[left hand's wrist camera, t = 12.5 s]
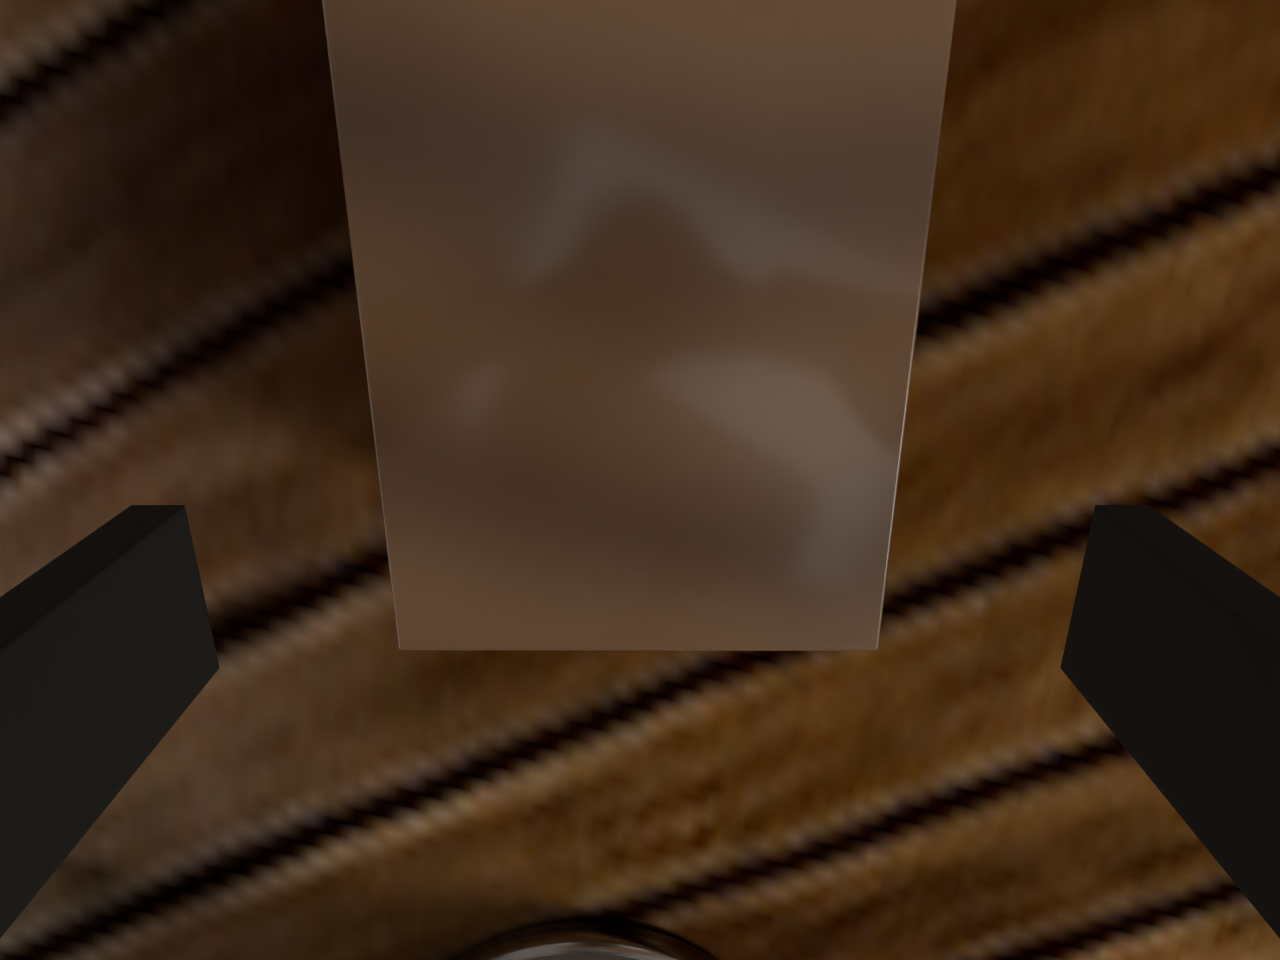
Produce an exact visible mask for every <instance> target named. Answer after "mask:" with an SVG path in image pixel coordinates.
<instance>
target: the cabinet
mask: <svg viewBox="0 0 1280 960" xmlns="http://www.w3.org/2000/svg"><path fill="white" fill-rule="evenodd" d="M956 1H957V0H322V8H323V16H324V25H325V33H326V41H327V50H328V58H329V67H330V75H331V83H332V92H333V100H334V108H335V117H336V125H337V134H338V142H339V150H340V159H341V167H342V176H343V184H344V192H345V201H346V209H347V217H348V226H349V234H350V243H351V251H352V259H353V268H354V276H355V285H356V293H357V301H358V310H359V318H360V326H361V335H362V343H363V352H364V360H365V368H366V377H367V385H368V394H369V402H370V410H371V419H372V427H373V435H374V444H375V452H376V461H377V469H378V477H379V486H380V494H381V503H382V511H383V519H384V528H385V536H386V544H387V553H388V561H389V570H390V578H391V586H392V595H393V603H394V612H395V620H396V628H397V637H398V645H399V649H400V650H574V651H876V650H877V649H878V645H879V636H880V628H881V620H882V612H883V603H884V595H885V587H886V579H887V570H888V562H889V554H890V546H891V537H892V529H893V521H894V513H895V504H896V496H897V488H898V480H899V471H900V463H901V455H902V447H903V438H904V430H905V422H906V414H907V405H908V397H909V389H910V381H911V372H912V364H913V356H914V348H915V339H916V331H917V323H918V315H919V306H920V298H921V290H922V282H923V273H924V265H925V257H926V248H927V240H928V232H929V224H930V215H931V207H932V199H933V191H934V182H935V174H936V166H937V158H938V149H939V141H940V133H941V125H942V116H943V108H944V100H945V92H946V83H947V75H948V67H949V59H950V50H951V42H952V34H953V26H954V17H955V9H956Z"/></svg>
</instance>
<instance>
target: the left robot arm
mask: <svg viewBox="0 0 1280 960" xmlns="http://www.w3.org/2000/svg"><path fill="white" fill-rule="evenodd" d="M218 669H219V664H218V659H217V654H216V650H215V645H214V640H213V635H212V631H211V626H210V621H209V617H208V612H207V607H206V603H205V598H204V593H203V589H202V584H201V579H200V575H199V570H198V565H197V561H196V556H195V551H194V547H193V542H192V537H191V533H190V528H189V523H188V519H187V514H186V509H185V505H131V506H130V507H128V508H127V509H126V510H124V511H123V512H121V513H120V514H118V515H117V516H116V517H114V518H113V519H111V520H110V521H108V522H107V523H106V524H104V525H103V526H101V527H100V528H98V529H97V530H96V531H94V532H93V533H91V534H90V535H88V536H87V537H86V538H84V539H83V540H81V541H80V542H78V543H77V544H76V545H74V546H73V547H71V548H70V549H68V550H67V551H66V552H64V553H63V554H61V555H60V556H58V557H57V558H56V559H54V560H53V561H51V562H50V563H48V564H47V565H46V566H44V567H43V568H41V569H40V570H38V571H37V572H36V573H34V574H33V575H31V576H30V577H28V578H27V579H26V580H24V581H23V582H21V583H20V584H19V585H17V586H16V587H14V588H13V589H11V590H10V591H9V592H7V593H6V594H4V595H3V596H1V597H0V938H1V937H2V935H3V934H4V933H5V932H6V931H7V929H8V928H9V927H10V926H11V924H12V923H13V922H14V921H15V919H16V918H17V917H18V916H19V915H20V913H21V912H22V911H23V910H24V908H25V907H26V906H27V905H28V903H29V902H30V901H31V900H32V898H33V897H34V896H35V895H36V894H37V892H38V891H39V890H40V889H41V887H42V886H43V885H44V884H45V882H46V881H47V880H48V879H49V878H50V876H51V875H52V874H53V873H54V871H55V870H56V869H57V868H58V866H59V865H60V864H61V863H62V861H63V860H64V859H65V858H66V857H67V855H68V854H69V853H70V852H71V850H72V849H73V848H74V847H75V845H76V844H77V843H78V842H79V841H80V839H81V838H82V837H83V836H84V834H85V833H86V832H87V831H88V829H89V828H90V827H91V826H92V824H93V823H94V822H95V821H96V820H97V818H98V817H99V816H100V815H101V813H102V812H103V811H104V810H105V808H106V807H107V806H108V805H109V804H110V802H111V801H112V800H113V799H114V797H115V796H116V795H117V794H118V792H119V791H120V790H121V789H122V787H123V786H124V785H125V784H126V783H127V781H128V780H129V779H130V778H131V776H132V775H133V774H134V773H135V771H136V770H137V769H138V768H139V767H140V765H141V764H142V763H143V762H144V760H145V759H146V758H147V757H148V755H149V754H150V753H151V752H152V750H153V749H154V748H155V747H156V746H157V744H158V743H159V742H160V741H161V739H162V738H163V737H164V736H165V734H166V733H167V732H168V731H169V730H170V728H171V727H172V726H173V725H174V723H175V722H176V721H177V720H178V718H179V717H180V716H181V715H182V713H183V712H184V711H185V710H186V709H187V707H188V706H189V705H190V704H191V702H192V701H193V700H194V699H195V697H196V696H197V695H198V694H199V693H200V691H201V690H202V689H203V688H204V686H205V685H206V684H207V683H208V681H209V680H210V679H211V678H212V676H213V675H214V674H215V673H216V672H217V670H218ZM1061 669H1062V670H1063V672H1064V673H1065V674H1066V675H1067V676H1068V678H1069V679H1070V680H1071V681H1072V683H1073V684H1074V685H1075V686H1076V688H1077V689H1078V690H1079V691H1080V693H1081V694H1082V695H1083V696H1084V697H1085V699H1086V700H1087V701H1088V702H1089V704H1090V705H1091V706H1092V707H1093V709H1094V710H1095V711H1096V712H1097V713H1098V715H1099V716H1100V717H1101V718H1102V720H1103V721H1104V722H1105V723H1106V725H1107V726H1108V727H1109V728H1110V730H1111V731H1112V732H1113V733H1114V734H1115V736H1116V737H1117V738H1118V739H1119V741H1120V742H1121V743H1122V744H1123V746H1124V747H1125V748H1126V749H1127V750H1128V752H1129V753H1130V754H1131V755H1132V757H1133V758H1134V759H1135V760H1136V762H1137V763H1138V764H1139V765H1140V767H1141V768H1142V769H1143V770H1144V771H1145V773H1146V774H1147V775H1148V776H1149V778H1150V779H1151V780H1152V781H1153V783H1154V784H1155V785H1156V786H1157V787H1158V789H1159V790H1160V791H1161V792H1162V794H1163V795H1164V796H1165V797H1166V799H1167V800H1168V801H1169V802H1170V804H1171V805H1172V806H1173V807H1174V808H1175V810H1176V811H1177V812H1178V813H1179V815H1180V816H1181V817H1182V818H1183V820H1184V821H1185V822H1186V823H1187V824H1188V826H1189V827H1190V828H1191V829H1192V831H1193V832H1194V833H1195V834H1196V836H1197V837H1198V838H1199V839H1200V841H1201V842H1202V843H1203V844H1204V845H1205V847H1206V848H1207V849H1208V850H1209V852H1210V853H1211V854H1212V855H1213V857H1214V858H1215V859H1216V860H1217V861H1218V863H1219V864H1220V865H1221V866H1222V868H1223V869H1224V870H1225V871H1226V873H1227V874H1228V875H1229V876H1230V878H1231V879H1232V880H1233V881H1234V882H1235V884H1236V885H1237V886H1238V887H1239V889H1240V890H1241V891H1242V892H1243V894H1244V895H1245V896H1246V897H1247V898H1248V900H1249V901H1250V902H1251V903H1252V905H1253V906H1254V907H1255V908H1256V910H1257V911H1258V912H1259V913H1260V915H1261V916H1262V917H1263V918H1264V919H1265V921H1266V922H1267V923H1268V924H1269V926H1270V927H1271V928H1272V929H1273V931H1274V932H1275V933H1276V934H1277V935H1278V937H1279V938H1280V597H1279V596H1277V595H1276V594H1274V593H1273V592H1271V591H1270V590H1269V589H1267V588H1266V587H1264V586H1263V585H1261V584H1260V583H1259V582H1257V581H1256V580H1254V579H1253V578H1252V577H1250V576H1249V575H1247V574H1246V573H1244V572H1243V571H1242V570H1240V569H1239V568H1237V567H1236V566H1234V565H1233V564H1232V563H1230V562H1229V561H1227V560H1226V559H1224V558H1223V557H1222V556H1220V555H1219V554H1217V553H1216V552H1214V551H1213V550H1212V549H1210V548H1209V547H1207V546H1206V545H1204V544H1203V543H1202V542H1200V541H1199V540H1197V539H1196V538H1194V537H1193V536H1192V535H1190V534H1189V533H1187V532H1186V531H1184V530H1183V529H1182V528H1180V527H1179V526H1177V525H1176V524H1174V523H1173V522H1172V521H1170V520H1169V519H1167V518H1166V517H1164V516H1163V515H1162V514H1160V513H1159V512H1157V511H1156V510H1154V509H1153V508H1152V507H1150V506H1149V505H1095V509H1094V514H1093V519H1092V523H1091V528H1090V533H1089V537H1088V542H1087V547H1086V551H1085V556H1084V561H1083V565H1082V570H1081V575H1080V579H1079V584H1078V589H1077V593H1076V598H1075V603H1074V607H1073V612H1072V617H1071V621H1070V626H1069V631H1068V635H1067V640H1066V645H1065V650H1064V654H1063V659H1062V664H1061ZM456 960H715V959H713V958H712V957H711V956H709V955H708V954H706V953H704V952H702V951H700V950H699V949H697V948H695V947H693V946H691V945H689V944H687V943H684V942H682V941H680V940H678V939H675V938H672V937H669V936H667V935H664V934H661V933H658V932H654V931H650V930H646V929H643V928H638V927H632V926H627V925H620V924H612V923H600V922H568V923H557V924H548V925H542V926H537V927H531V928H527V929H523V930H519V931H515V932H512V933H509V934H506V935H503V936H500V937H497V938H495V939H492V940H490V941H488V942H486V943H483V944H481V945H479V946H477V947H475V948H474V949H472V950H470V951H468V952H467V953H465V954H463V955H462V956H460V957H459V958H458V959H456Z"/></svg>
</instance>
